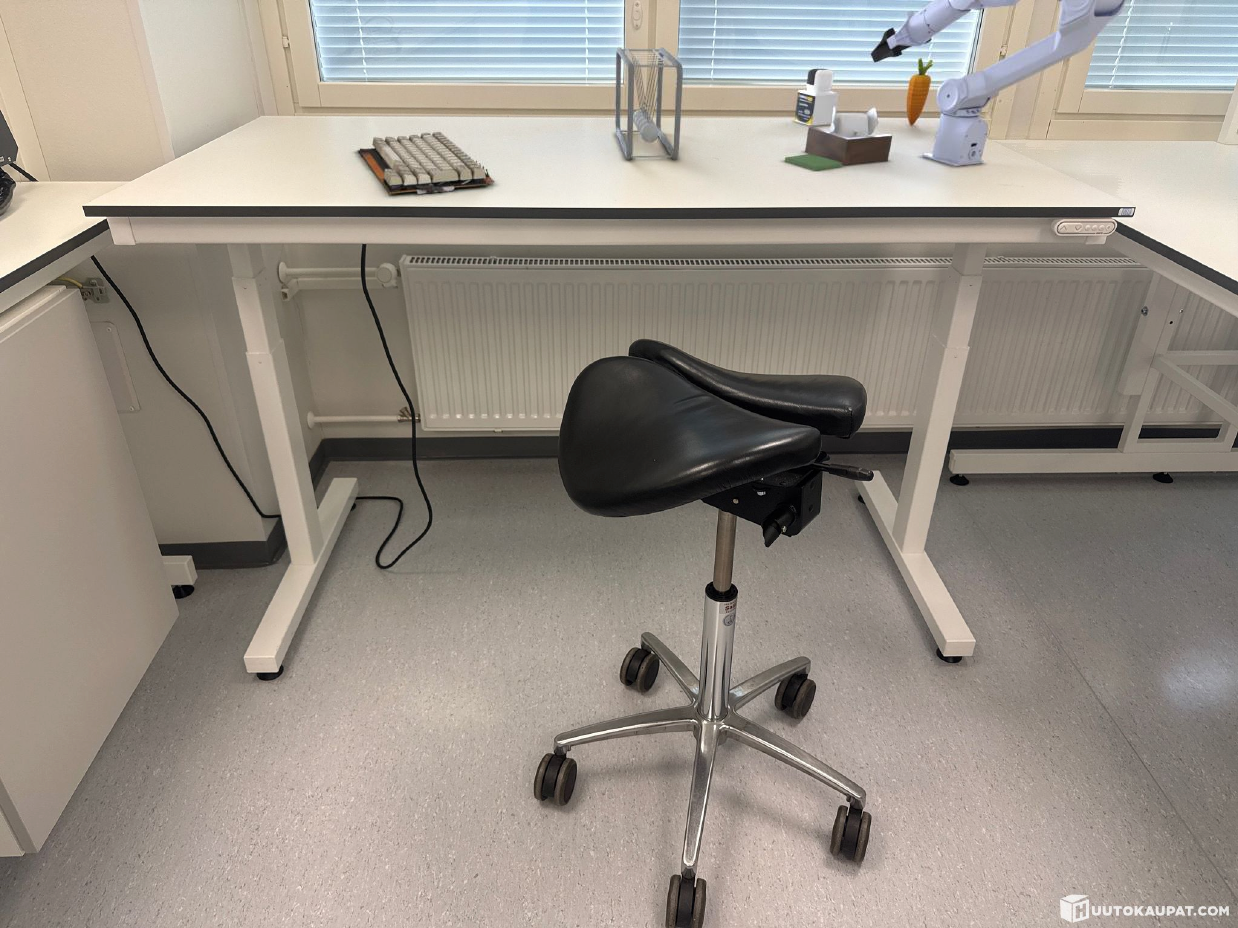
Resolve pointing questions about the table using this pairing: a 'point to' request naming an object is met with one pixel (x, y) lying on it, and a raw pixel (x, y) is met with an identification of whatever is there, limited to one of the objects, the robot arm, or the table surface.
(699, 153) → the table surface
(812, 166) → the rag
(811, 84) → the medicine bottle
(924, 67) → the carrot
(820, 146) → the corner fence
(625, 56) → the newton's cradle
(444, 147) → the mechanical keyboard
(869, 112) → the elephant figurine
